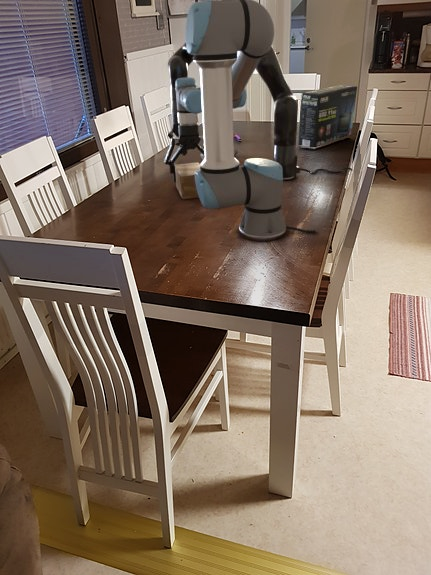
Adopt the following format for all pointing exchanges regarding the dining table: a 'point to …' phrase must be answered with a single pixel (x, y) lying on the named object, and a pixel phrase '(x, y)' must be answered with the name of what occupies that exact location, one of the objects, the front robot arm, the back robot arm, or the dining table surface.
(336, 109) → the router box
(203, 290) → the dining table surface
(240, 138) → the handgun
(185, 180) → the tan wooden block
